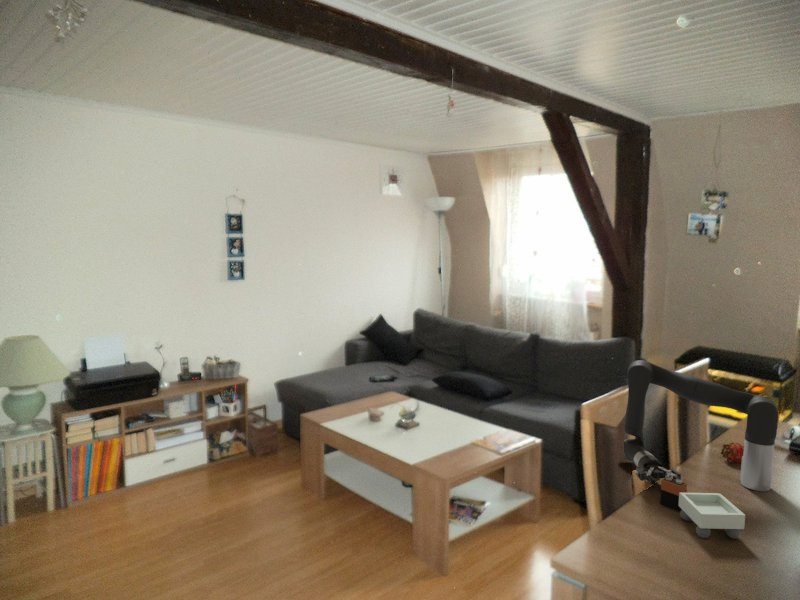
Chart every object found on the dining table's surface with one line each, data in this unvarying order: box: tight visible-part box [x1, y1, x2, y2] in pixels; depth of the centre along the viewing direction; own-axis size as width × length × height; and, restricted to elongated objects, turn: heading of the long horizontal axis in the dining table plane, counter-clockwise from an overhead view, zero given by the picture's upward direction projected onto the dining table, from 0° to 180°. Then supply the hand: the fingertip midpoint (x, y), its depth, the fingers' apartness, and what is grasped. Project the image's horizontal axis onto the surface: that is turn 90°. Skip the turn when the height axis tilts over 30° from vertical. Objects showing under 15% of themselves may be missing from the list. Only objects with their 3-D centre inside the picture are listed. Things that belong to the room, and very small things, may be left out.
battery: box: [659, 475, 688, 513], centre depth 188 cm, size 4×7×10 cm, turn 38°
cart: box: [678, 492, 746, 540], centre depth 174 cm, size 14×13×8 cm
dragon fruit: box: [720, 442, 744, 464], centre depth 226 cm, size 8×8×12 cm
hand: (666, 483), depth 192 cm, fingers open, 8 cm apart
